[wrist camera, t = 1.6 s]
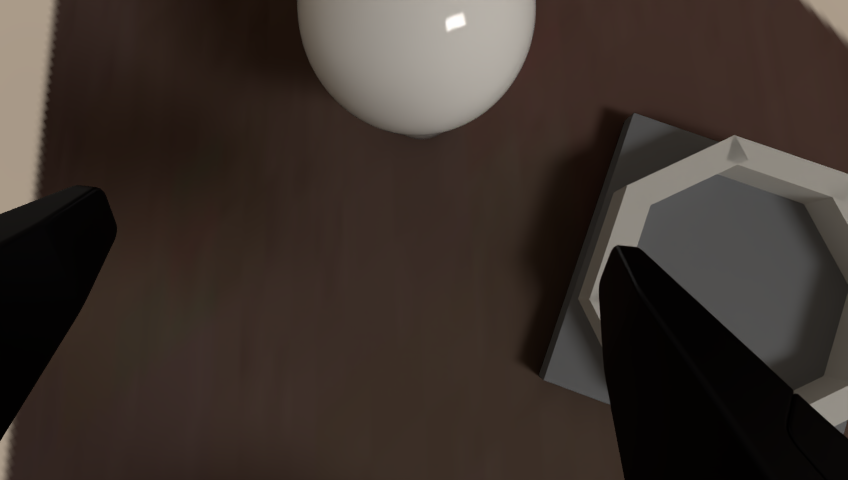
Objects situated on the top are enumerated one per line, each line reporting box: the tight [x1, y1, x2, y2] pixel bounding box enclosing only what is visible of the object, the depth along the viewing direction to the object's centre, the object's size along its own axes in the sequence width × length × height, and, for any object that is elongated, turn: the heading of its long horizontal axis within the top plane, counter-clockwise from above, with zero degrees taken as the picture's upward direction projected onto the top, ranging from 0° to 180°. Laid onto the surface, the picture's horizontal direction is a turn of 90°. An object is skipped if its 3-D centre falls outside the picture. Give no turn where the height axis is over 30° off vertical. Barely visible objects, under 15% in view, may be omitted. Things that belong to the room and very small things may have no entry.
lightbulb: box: [297, 0, 536, 139], centre depth 17 cm, size 6×6×11 cm
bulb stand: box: [539, 113, 848, 434], centre depth 20 cm, size 11×11×2 cm
